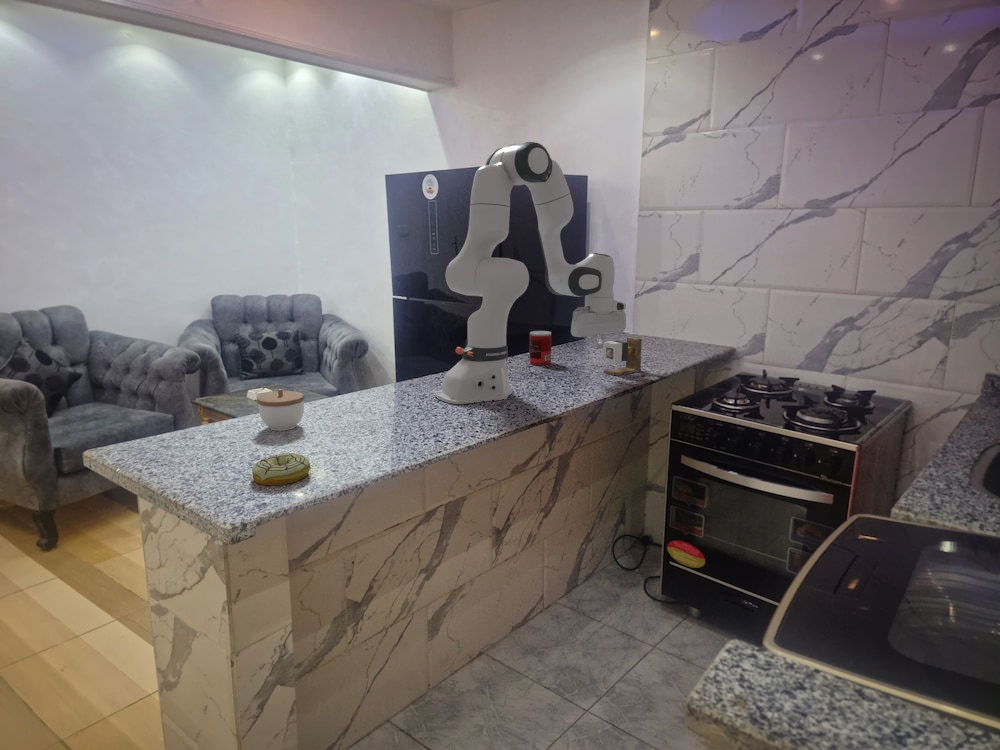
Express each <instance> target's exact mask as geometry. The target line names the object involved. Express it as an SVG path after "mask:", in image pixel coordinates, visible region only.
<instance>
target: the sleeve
mask: <svg viewBox="0 0 1000 750" xmlns="http://www.w3.org/2000/svg"><path fill="white" fill-rule="evenodd" d="M614 341H615V340H609V341H604V343H603V349H604V350H603V360H604V361H607V362H610V363H621V362H623V361H622V343H618V342H614ZM611 349H613V357H608V355H607V351H608V350H611Z"/></svg>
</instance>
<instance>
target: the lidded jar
mask: <svg viewBox="0 0 1000 750" xmlns="http://www.w3.org/2000/svg"><path fill="white" fill-rule="evenodd" d="M304 400H305V395H304V393H303V392H300V391H295V390H293V391H292V390H283V389H281V388H280V389H278V390H277V391H273V392H267V393H263V394H261V395H259V396H258V397H257V401H256V403H257V405H258V412H259V416H260V419H261V420H262V422H263V423H264V424H265V426H267V427H268V428H269V429H270V430H271V431H276V432H277V431H278V432H279V431H280V432H283V431H290V430H292V429H295V428H296V427H297V425H298V424H299V423H300V422H301V420H302V418H303V415H304V412H305V401H304Z"/></svg>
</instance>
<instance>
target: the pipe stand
mask: <svg viewBox="0 0 1000 750" xmlns="http://www.w3.org/2000/svg"><path fill="white" fill-rule="evenodd" d="M626 342H628V356H627V361H625V367H619V368H613V369H607V370H603V374H605V373H607V374H606V375H609V374H611V375H610V376H613V375H616V376H621V375H620V374H622V375H627V374H626V373H628V374H632V373H631V372H634V373H639V372H638V371H641V372H642V368H641V364H642V363H641V362H642V346H643V345H642V343H643V338H640V337H634V336H628V337H626ZM607 355H608V357H613V349H611V350H608V351H607Z"/></svg>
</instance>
